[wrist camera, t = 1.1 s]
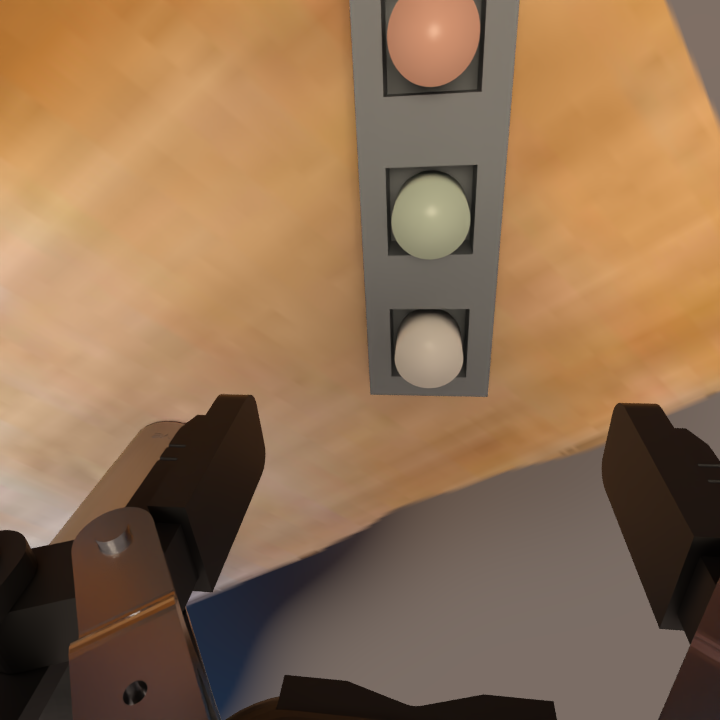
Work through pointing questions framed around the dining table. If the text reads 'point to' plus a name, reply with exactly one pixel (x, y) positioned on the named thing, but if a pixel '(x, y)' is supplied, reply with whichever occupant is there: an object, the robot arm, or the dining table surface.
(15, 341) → the dining table surface
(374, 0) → the button panel
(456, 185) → the sage button
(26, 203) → the dining table surface
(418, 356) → the cream button
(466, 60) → the terracotta button
